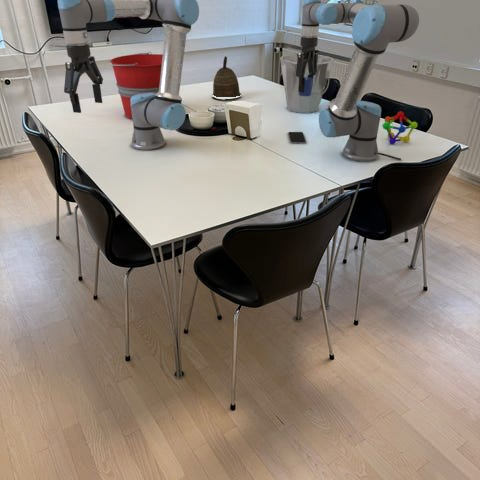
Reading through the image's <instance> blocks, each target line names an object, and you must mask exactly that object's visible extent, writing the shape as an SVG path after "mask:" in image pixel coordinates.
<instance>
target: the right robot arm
mask: <svg viewBox="0 0 480 480" xmlns="http://www.w3.org/2000/svg"><path fill="white" fill-rule="evenodd" d="M302 2H303V4H302V11H301V12H302V15H301V32H300V35H301V37H300V43H299V46H300V47H301V51H300V52H297V53H296V54H297V58H298V59H297V69H296V76H297V77H299V88H298V92H302V93H304V85H305V78H304V75H305V70H306V66H307V62H308V69H309V74H310V75H308V77H311V78H313V76H314V75H316V73H317V62H318V55H319V53H320V50H319V49H316V47H318V43H319V38H318V37H319V35H320V34H319V33H320V31H319V30H320V25H323V26H330V25H332V24H333V25H335V24H352V25H351V28H352V30H351V37H352V40H353V45H354V50H353V53H352V56H351V58H350V60H349V63H348V66H347V67H346V71H345V73H344V75H343V79H342V81H341V84H340V87H339V89H338V91H337V94H336V96H335V98H333V99H331V100H330V102H329V104H328V107H327V108H323V109H321V110H320V111H319V114H318V126H319V129H320V132H321V134H322V135H323V136H324V137H325V138H338V137H339V138H340V137H346V136H347V137H348V139H347V141H346V143H345V145H344V147H343V148H342V157H344V158H345V159H348V160H349V161H352V162H353V161H354V162H360V163H368V162H373V161H376V160H378V158H379V156H382V157H387V158H391V159H394V160H398V161H401V160H402V157H398V156H394V155H390V154H386V153H382V152H379V148H378V142H377V139H378V133H379V127H380V121H381V117H382V107H381V106H380V105H379V104H377V103H375V102H370V101H366V100H360V98H361V95H362V93H363V91H364V89H365V86H366V84H367V82H368V80H369V77H370V75H371V73H372V70H373V68H374V66H375V64H376V62H377V60H378V57H379V56H380V55H381V56H382V55H383V54H384V53H385V52H386V50H387V48H388V45H389V44H390V43H401V42H404V41H407V40H409V39H411V37H412V36H413V35H415V33H416V31H418V27H419V24H420V15H419V12H418V11H417V10H416V8H414V7H413V6H412V5H409V4H401V3H399V4H372V5H371V4H364V3H362V2H357V1H356V2H322V0H303V1H302ZM304 59H305V60H304ZM314 69H315V70H314ZM312 86H313V80H312Z"/></svg>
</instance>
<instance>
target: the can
mask: <svg viewBox="0 0 480 480" xmlns="http://www.w3.org/2000/svg"><path fill="white" fill-rule="evenodd" d="M304 78H305V85H304V93H302V92H299V95H300V96H311V92H312V80H313V78H311V77H304Z"/></svg>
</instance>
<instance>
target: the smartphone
mask: <svg viewBox="0 0 480 480" xmlns="http://www.w3.org/2000/svg"><path fill="white" fill-rule="evenodd" d="M288 138H289V142H290V144H306V142H307V141H306V138H305V135H304V132H303V131H288Z"/></svg>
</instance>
